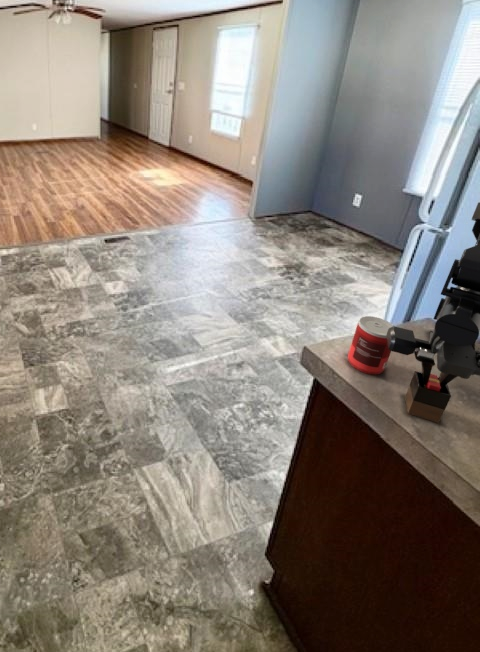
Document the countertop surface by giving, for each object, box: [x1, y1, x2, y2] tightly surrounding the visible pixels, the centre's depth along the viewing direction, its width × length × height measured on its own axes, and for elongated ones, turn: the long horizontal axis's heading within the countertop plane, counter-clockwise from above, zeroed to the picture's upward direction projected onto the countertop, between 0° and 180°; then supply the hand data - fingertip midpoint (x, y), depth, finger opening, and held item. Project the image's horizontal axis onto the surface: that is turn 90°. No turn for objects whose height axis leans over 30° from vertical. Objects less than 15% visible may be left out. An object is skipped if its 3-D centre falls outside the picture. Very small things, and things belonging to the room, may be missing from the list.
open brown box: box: [409, 370, 452, 411], centre depth 85 cm, size 5×5×4 cm
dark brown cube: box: [404, 384, 445, 424], centre depth 87 cm, size 5×5×4 cm
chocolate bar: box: [424, 373, 441, 391], centre depth 85 cm, size 4×2×2 cm, turn 152°
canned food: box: [347, 315, 395, 375], centre depth 98 cm, size 8×8×11 cm
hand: (431, 385), depth 85 cm, fingers closed on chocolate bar, 2 cm apart
